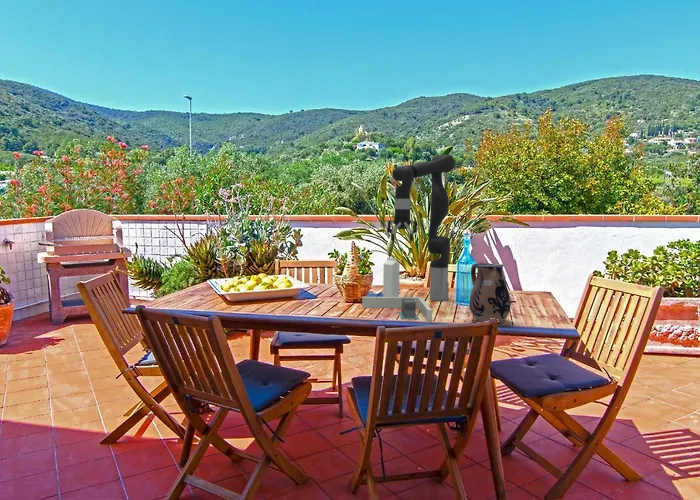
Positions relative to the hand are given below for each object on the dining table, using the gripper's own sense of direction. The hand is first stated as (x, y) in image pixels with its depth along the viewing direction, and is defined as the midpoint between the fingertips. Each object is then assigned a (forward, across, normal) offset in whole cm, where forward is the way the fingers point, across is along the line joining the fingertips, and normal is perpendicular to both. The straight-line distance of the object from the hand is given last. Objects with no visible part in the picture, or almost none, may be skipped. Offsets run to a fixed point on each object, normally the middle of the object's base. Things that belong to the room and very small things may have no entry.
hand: (401, 241), depth 266 cm
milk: (+32, -3, +18) cm, 37 cm away
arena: (+32, -5, -16) cm, 36 cm away
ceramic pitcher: (+32, +34, -30) cm, 56 cm away
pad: (+32, +1, -20) cm, 38 cm away
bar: (+32, +1, -20) cm, 37 cm away
